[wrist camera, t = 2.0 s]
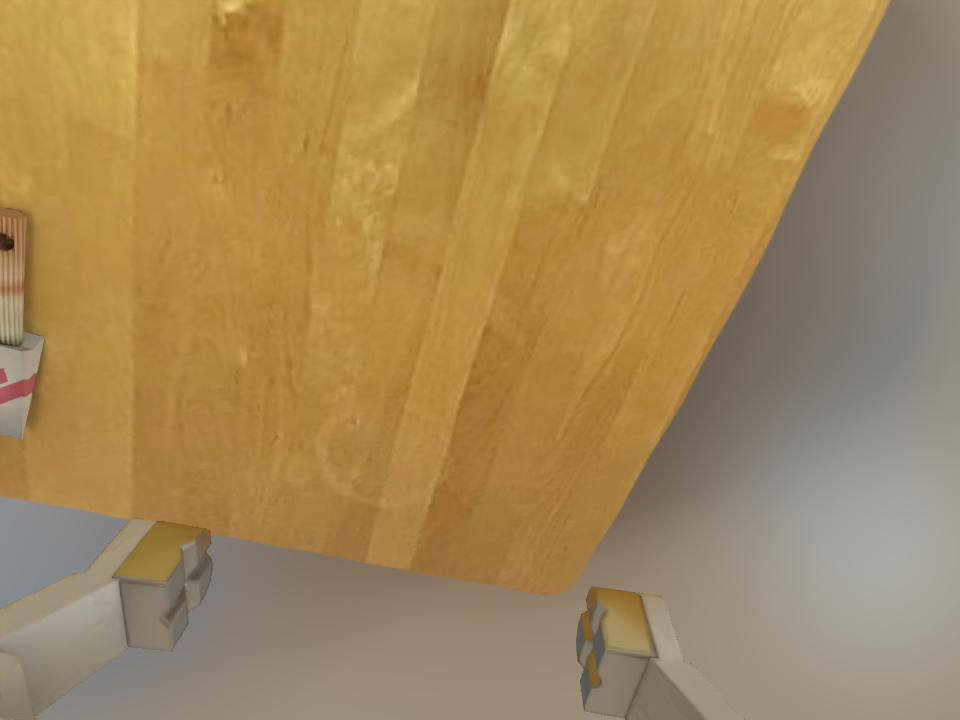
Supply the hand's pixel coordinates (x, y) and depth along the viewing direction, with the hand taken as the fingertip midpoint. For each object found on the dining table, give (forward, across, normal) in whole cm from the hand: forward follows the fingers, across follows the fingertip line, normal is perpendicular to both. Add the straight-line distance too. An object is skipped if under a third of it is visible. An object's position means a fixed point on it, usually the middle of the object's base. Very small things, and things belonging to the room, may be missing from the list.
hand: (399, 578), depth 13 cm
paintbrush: (+33, +35, +14) cm, 50 cm away
